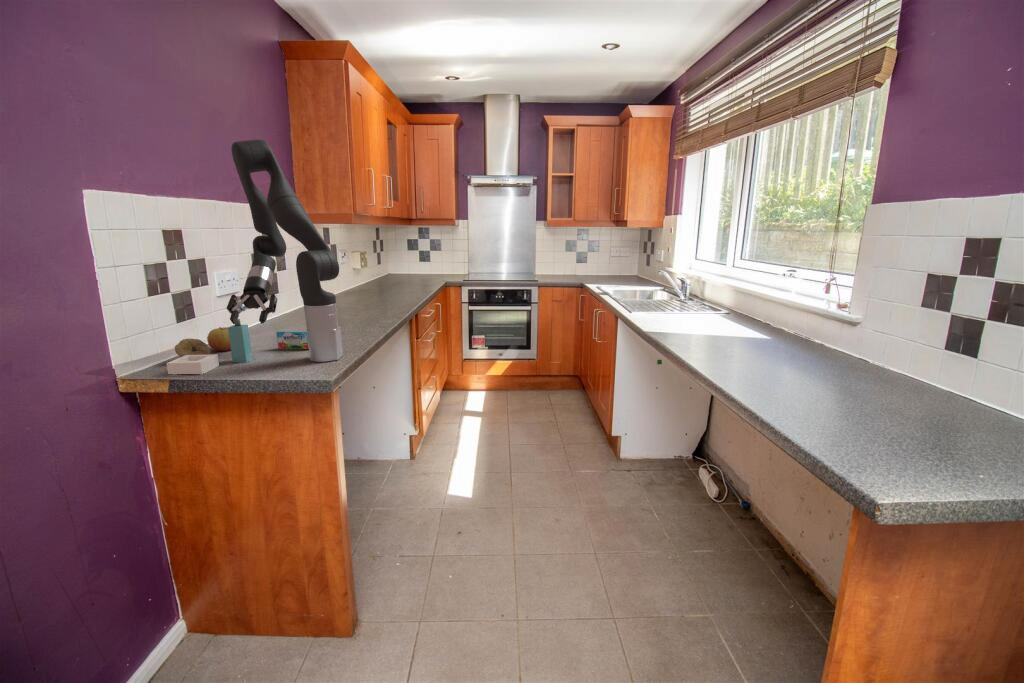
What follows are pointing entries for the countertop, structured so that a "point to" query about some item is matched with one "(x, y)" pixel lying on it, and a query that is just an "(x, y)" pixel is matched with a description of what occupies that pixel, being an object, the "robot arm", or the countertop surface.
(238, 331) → the teal block with knob
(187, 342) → the fossil
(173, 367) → the socket
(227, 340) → the apple
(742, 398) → the countertop surface
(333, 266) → the robot arm
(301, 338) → the blue printed box
